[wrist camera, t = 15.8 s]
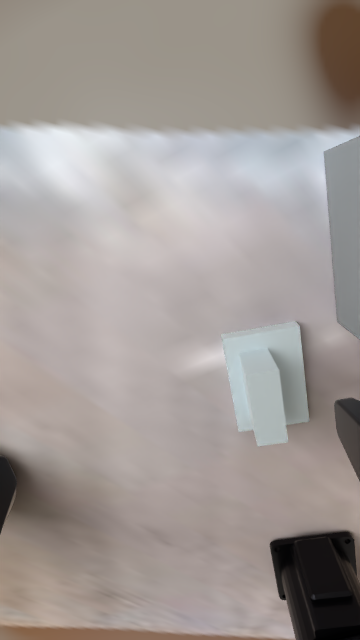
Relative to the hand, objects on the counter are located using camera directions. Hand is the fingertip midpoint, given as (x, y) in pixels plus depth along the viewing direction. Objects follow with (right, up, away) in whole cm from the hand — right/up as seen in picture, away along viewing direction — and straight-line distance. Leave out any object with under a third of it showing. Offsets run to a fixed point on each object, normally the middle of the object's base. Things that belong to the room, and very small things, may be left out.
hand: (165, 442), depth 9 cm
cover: (+6, 0, +14) cm, 15 cm away
